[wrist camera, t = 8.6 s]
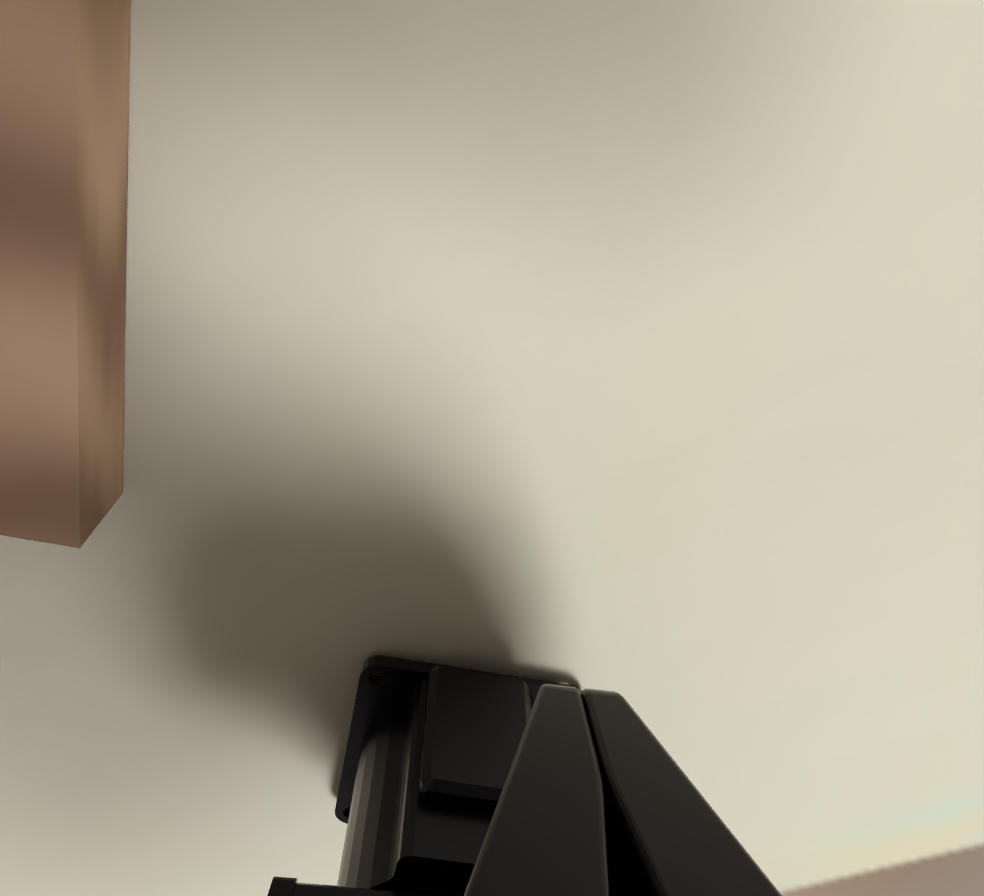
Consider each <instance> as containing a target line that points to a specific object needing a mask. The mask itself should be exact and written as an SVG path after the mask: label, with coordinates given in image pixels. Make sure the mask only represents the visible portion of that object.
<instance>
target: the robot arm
mask: <svg viewBox="0 0 984 896" xmlns="http://www.w3.org/2000/svg"><path fill="white" fill-rule="evenodd" d="M374 672H381V673H383V674H384V675H383V676H377V675H374V674H373V673H374ZM335 815H336V817H337V818H338V819H339V820H340V821H342V822H344V823H348V825H347V831H346V837H345V843H344V849H343V855H342V861H341V867H340V873H339V879H338V885H337V886H331V885H318V884H306V883H297V878H284V877H274V878H273V880H272V883H271V886H270V890H269V893H268V896H782V895H781V894H780V893H779V891H778V890H777V889H776V888H775V886H774V885H773V884H772V883H771V881H770V880H769V879H768V878H767V876H766V875H765V874H764V873H763V871H762V870H761V869H760V868H759V866H758V865H757V864H756V863H755V861H754V860H753V859H752V858H751V856H750V855H749V854H748V853H747V851H746V850H745V849H744V848H743V846H742V845H741V844H740V843H739V841H738V840H737V839H736V838H735V836H734V835H733V834H732V833H731V831H730V830H729V829H728V828H727V826H726V825H725V824H724V823H723V821H722V820H721V819H720V817H719V816H718V815H717V814H716V812H715V811H714V810H713V809H712V807H711V806H710V805H709V804H708V802H707V801H706V800H705V799H704V797H703V796H702V795H701V794H700V792H699V791H698V790H697V789H696V787H695V786H694V785H693V784H692V782H691V781H690V780H689V779H688V777H687V776H686V775H685V774H684V772H683V771H682V770H681V769H680V767H679V766H678V765H677V764H676V762H675V761H674V760H673V759H672V757H671V756H670V755H669V754H668V752H667V751H666V750H665V749H664V747H663V746H662V745H661V744H660V742H659V741H658V740H657V739H656V737H655V736H654V735H653V734H652V732H651V731H650V730H649V729H648V727H647V726H646V725H645V724H644V722H643V721H642V720H641V719H640V717H639V716H638V715H637V714H636V712H635V711H634V710H633V709H632V707H631V706H630V705H629V704H628V702H627V701H626V700H625V699H624V697H623V696H621V695H620V694H619V693H616V692H612V691H603V690H595V689H584V690H582V691H581V690H580V689H579V688H578V687H575V686H572V685H565V684H559V683H553V682H546V681H540V680H534V679H527V678H521V677H514V676H508V675H502V674H495V673H489V672H483V671H476V670H470V669H464V668H457V667H451V666H445V665H438V664H432V663H426V662H419V661H413V660H407V659H400V658H394V657H388V656H372V657H369V658H368V659H366V660H365V661H364V663H363V665H362V668H361V673H360V679H359V684H358V690H357V695H356V700H355V706H354V711H353V717H352V722H351V727H350V733H349V738H348V744H347V749H346V754H345V760H344V765H343V770H342V776H341V781H340V787H339V792H338V797H337V803H336V808H335Z"/></svg>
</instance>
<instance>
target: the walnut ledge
mask: <svg viewBox="0 0 984 896" xmlns="http://www.w3.org/2000/svg"><path fill="white" fill-rule="evenodd" d="M129 57H130V0H0V535H4V536H10V537H16V538H22V539H28V540H34V541H40V542H46V543H53V544H59V545H65V546H71V547H77V548H80V547H81V546H82V545H83V543H84V542H85V541H86V539H87V538H88V537H89V536H90V534H91V533H92V532H93V530H94V529H95V528H96V527H97V525H98V524H99V523H100V521H101V520H102V519H103V517H104V516H105V515H106V514H107V512H108V511H109V510H110V508H111V507H112V506H113V505H114V503H115V502H116V501H117V499H118V498H119V497H120V496H121V494H122V489H123V427H124V366H125V304H126V242H127V181H128V119H129Z"/></svg>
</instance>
